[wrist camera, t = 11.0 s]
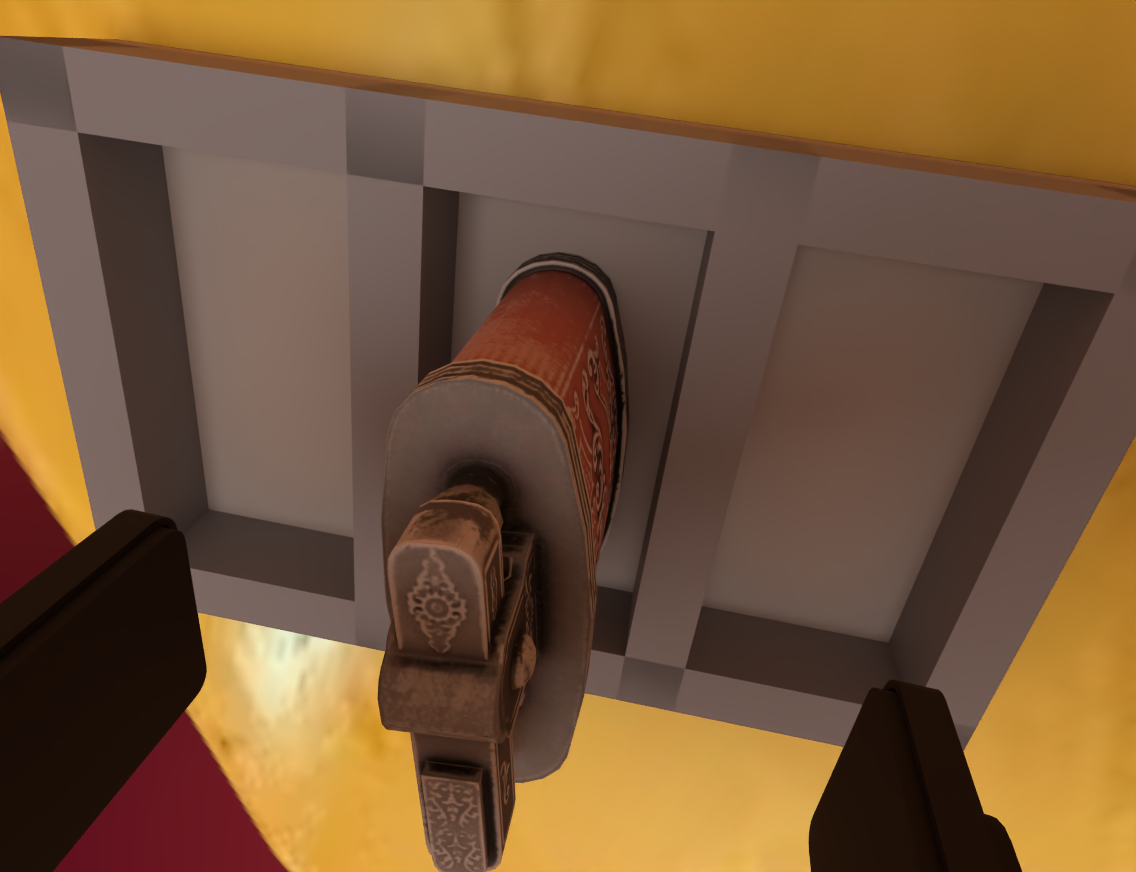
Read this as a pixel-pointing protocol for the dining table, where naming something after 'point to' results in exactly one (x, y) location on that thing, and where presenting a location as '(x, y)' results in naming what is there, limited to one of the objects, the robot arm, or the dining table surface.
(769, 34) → the dining table surface
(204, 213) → the tray
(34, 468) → the dining table surface
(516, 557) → the lighter
